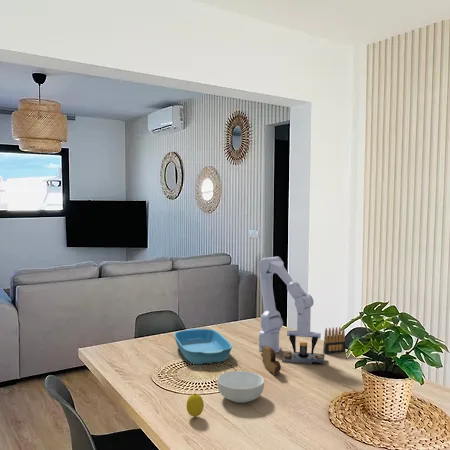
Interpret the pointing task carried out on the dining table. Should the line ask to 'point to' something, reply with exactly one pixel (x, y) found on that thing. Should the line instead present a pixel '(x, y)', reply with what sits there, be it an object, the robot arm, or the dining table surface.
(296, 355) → the chain end right
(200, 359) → the casserole dish
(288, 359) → the chain end left
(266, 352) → the wooden carving
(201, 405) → the lemon
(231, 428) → the dining table surface
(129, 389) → the dining table surface
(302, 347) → the pin
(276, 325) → the robot arm
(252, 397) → the cereal bowl
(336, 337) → the ammunition clip
